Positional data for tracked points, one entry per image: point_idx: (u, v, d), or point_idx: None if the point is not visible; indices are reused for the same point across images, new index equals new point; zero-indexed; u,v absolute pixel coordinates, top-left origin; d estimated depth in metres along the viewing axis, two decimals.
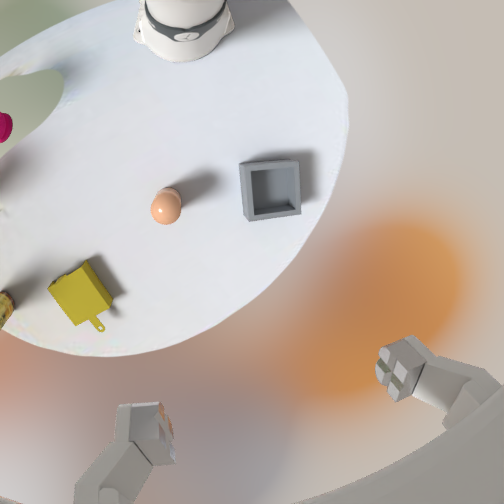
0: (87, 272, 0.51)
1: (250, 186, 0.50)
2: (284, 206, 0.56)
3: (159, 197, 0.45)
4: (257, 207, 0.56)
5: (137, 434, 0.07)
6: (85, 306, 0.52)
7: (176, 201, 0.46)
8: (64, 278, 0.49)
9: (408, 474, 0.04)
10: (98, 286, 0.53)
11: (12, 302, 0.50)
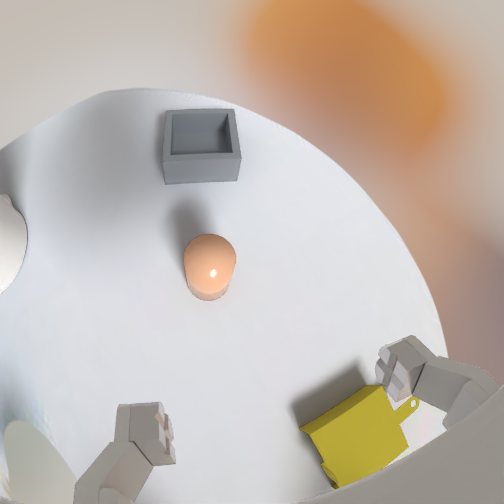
0: (321, 424, 0.28)
1: (191, 155, 0.35)
2: (226, 133, 0.41)
3: (187, 266, 0.27)
4: None
5: (137, 434, 0.07)
6: (379, 429, 0.27)
7: (197, 239, 0.28)
8: (328, 465, 0.25)
9: (408, 474, 0.04)
10: (344, 407, 0.29)
11: None
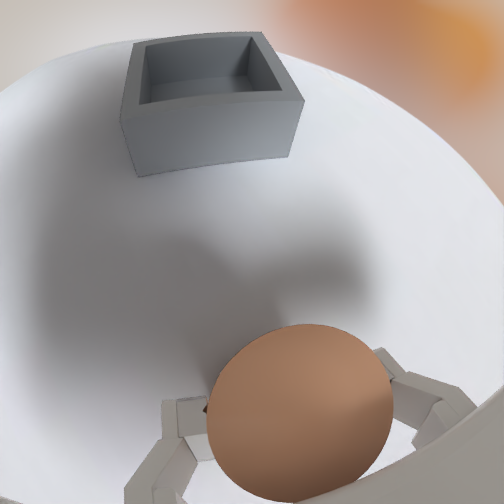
0: None
1: (187, 98, 0.14)
2: (250, 75, 0.20)
3: (228, 464, 0.06)
4: None
5: (187, 429, 0.07)
6: None
7: (250, 357, 0.07)
8: None
9: (408, 474, 0.04)
10: None
11: None
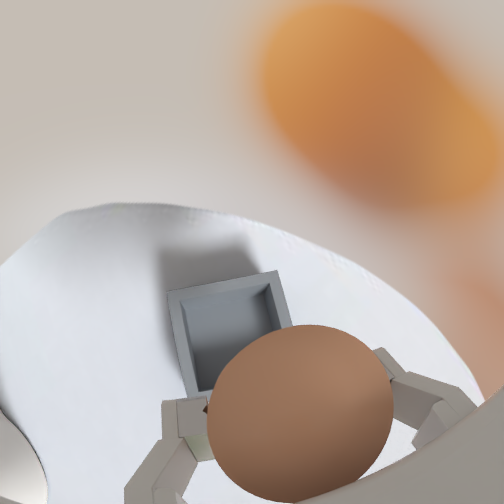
0: None
1: None
2: (267, 303, 0.28)
3: (228, 465, 0.06)
4: None
5: (187, 429, 0.07)
6: None
7: (250, 358, 0.07)
8: None
9: (408, 474, 0.04)
10: None
11: None
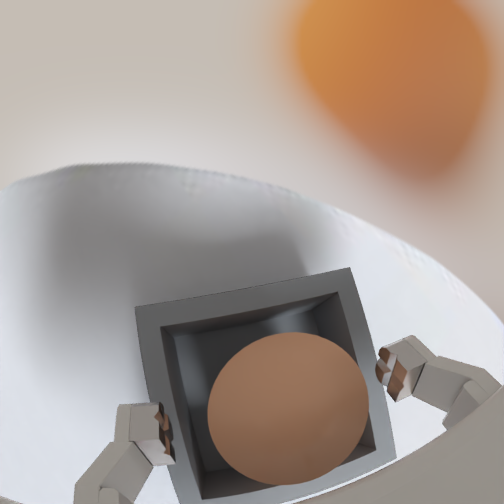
0: None
1: (264, 492, 0.09)
2: (321, 326, 0.16)
3: (226, 450, 0.07)
4: None
5: (137, 434, 0.07)
6: None
7: (244, 360, 0.08)
8: None
9: (408, 474, 0.04)
10: None
11: None
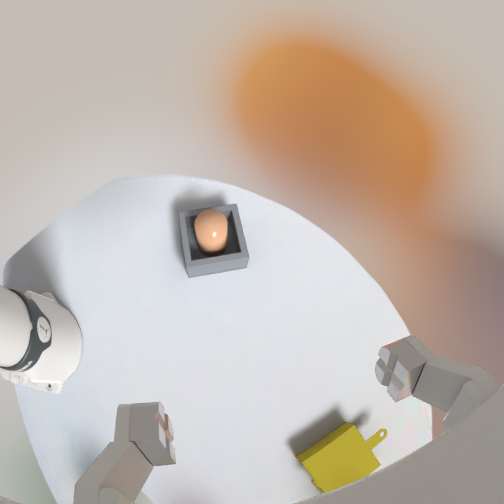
0: (309, 454, 0.37)
1: (208, 258, 0.45)
2: (232, 224, 0.52)
3: (197, 230, 0.43)
4: (236, 253, 0.51)
5: (137, 434, 0.07)
6: (354, 455, 0.36)
7: (201, 214, 0.44)
8: (317, 482, 0.34)
9: (408, 474, 0.04)
10: (327, 441, 0.38)
11: None
